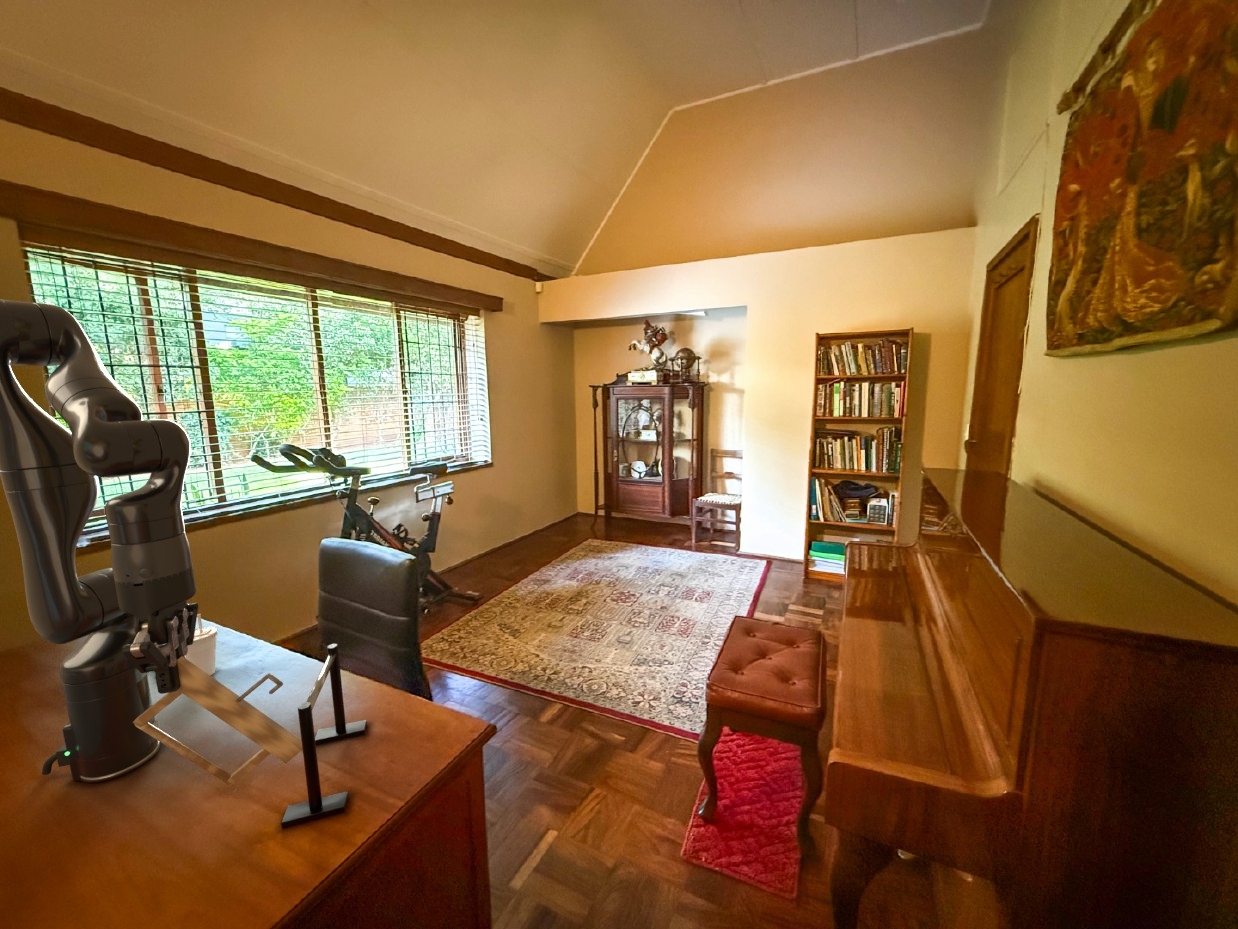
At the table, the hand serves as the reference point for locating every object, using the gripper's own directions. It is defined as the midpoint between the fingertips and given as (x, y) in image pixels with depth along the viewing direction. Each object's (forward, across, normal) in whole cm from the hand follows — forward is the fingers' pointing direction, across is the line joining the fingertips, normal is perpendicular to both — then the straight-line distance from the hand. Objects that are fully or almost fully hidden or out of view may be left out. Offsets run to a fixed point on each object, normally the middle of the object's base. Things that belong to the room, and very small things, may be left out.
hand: (173, 686), depth 65 cm
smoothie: (+22, -44, -16) cm, 52 cm away
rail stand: (+21, -4, +16) cm, 27 cm away
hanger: (+11, 0, 0) cm, 11 cm away
